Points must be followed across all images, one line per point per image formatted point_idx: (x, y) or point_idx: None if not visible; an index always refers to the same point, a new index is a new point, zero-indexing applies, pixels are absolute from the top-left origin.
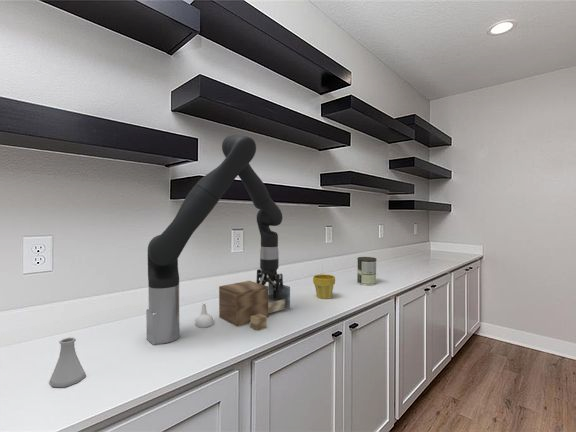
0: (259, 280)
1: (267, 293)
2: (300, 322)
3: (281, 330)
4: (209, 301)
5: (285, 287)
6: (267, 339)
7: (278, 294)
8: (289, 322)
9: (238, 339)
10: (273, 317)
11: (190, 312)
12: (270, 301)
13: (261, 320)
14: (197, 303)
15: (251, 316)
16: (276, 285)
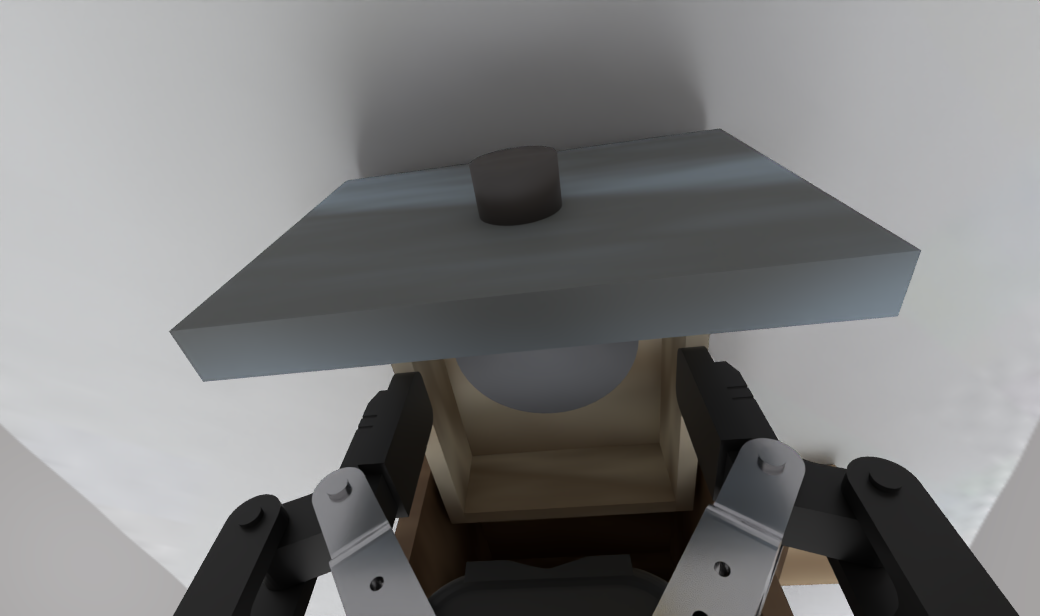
0: (273, 578)
1: (779, 595)
2: (1025, 234)
3: (957, 423)
4: (131, 506)
5: (795, 312)
6: (954, 520)
7: (750, 402)
8: (922, 309)
9: (818, 586)
10: (721, 347)
11: (332, 604)
12: (573, 347)
13: None
14: (167, 554)
15: (787, 584)
16: (851, 597)
